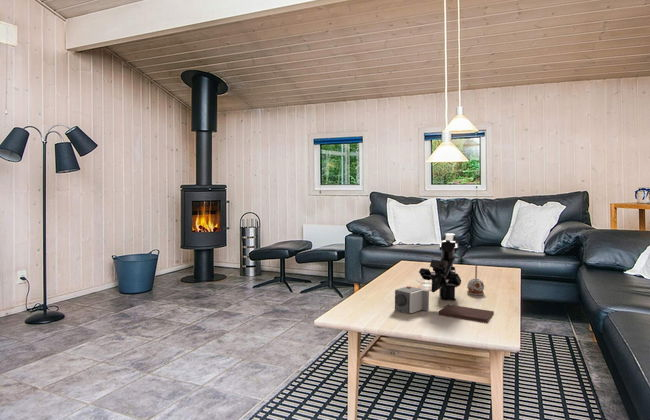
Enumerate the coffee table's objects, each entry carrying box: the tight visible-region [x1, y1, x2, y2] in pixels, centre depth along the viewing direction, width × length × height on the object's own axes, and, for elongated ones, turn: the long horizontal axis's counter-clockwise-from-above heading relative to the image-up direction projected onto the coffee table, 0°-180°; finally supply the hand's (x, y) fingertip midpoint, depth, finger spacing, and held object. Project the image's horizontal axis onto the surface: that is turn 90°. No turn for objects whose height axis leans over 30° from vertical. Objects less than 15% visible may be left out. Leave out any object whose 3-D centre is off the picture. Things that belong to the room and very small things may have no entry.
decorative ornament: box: [467, 264, 485, 296], centre depth 216 cm, size 8×8×15 cm
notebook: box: [437, 303, 495, 323], centre depth 182 cm, size 15×20×2 cm
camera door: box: [409, 288, 430, 314], centre depth 184 cm, size 10×4×8 cm, turn 135°
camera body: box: [394, 285, 422, 315], centre depth 187 cm, size 11×7×10 cm, turn 135°
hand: (432, 291), depth 190 cm, fingers closed
